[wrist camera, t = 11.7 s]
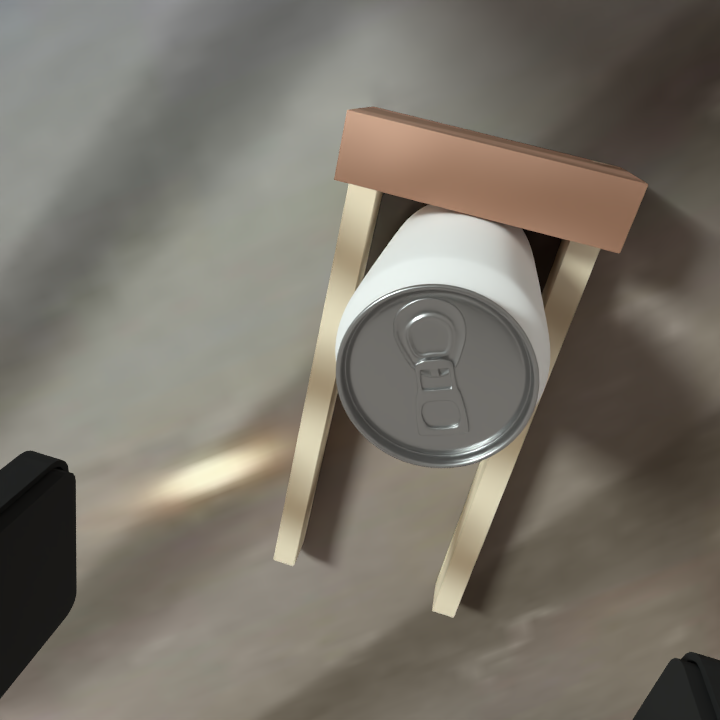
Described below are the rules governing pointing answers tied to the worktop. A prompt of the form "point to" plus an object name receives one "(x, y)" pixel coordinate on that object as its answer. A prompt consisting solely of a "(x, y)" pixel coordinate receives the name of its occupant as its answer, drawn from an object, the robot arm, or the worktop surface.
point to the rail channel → (474, 197)
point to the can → (445, 341)
